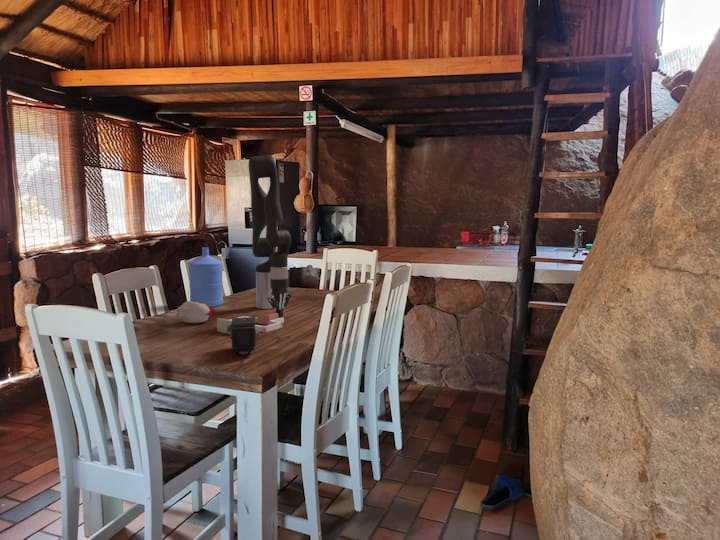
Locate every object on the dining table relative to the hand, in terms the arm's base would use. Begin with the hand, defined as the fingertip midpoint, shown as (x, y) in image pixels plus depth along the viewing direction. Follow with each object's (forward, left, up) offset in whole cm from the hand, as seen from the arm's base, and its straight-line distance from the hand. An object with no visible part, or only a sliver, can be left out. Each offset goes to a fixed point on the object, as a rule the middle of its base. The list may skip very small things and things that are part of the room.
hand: (279, 317), depth 231 cm
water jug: (-5, -52, -1) cm, 53 cm away
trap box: (+16, 0, -1) cm, 16 cm away
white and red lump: (+23, -24, -1) cm, 33 cm away
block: (+7, 0, -1) cm, 7 cm away
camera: (+44, +24, -1) cm, 50 cm away
